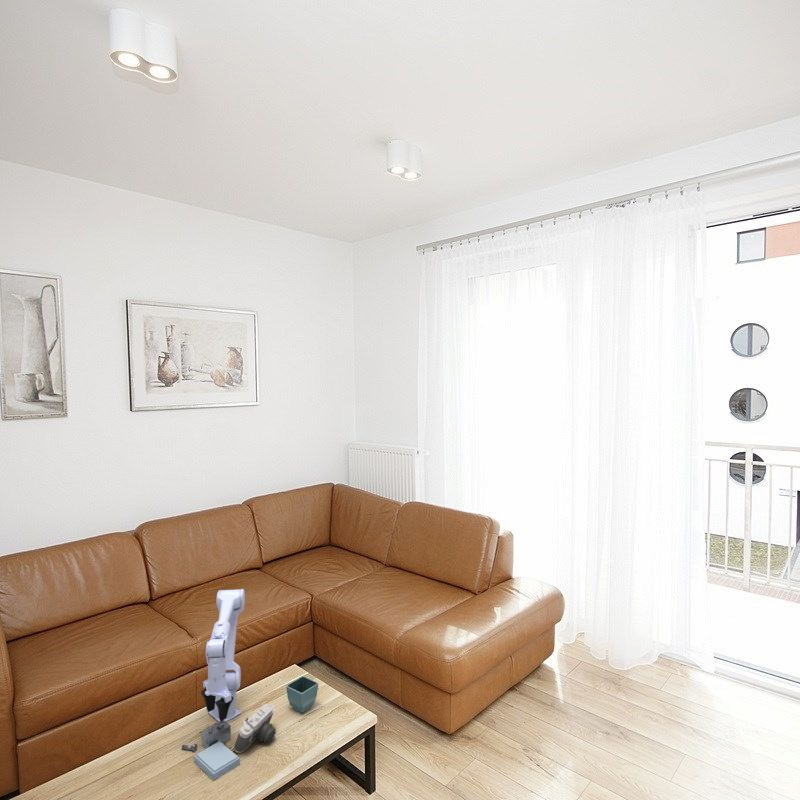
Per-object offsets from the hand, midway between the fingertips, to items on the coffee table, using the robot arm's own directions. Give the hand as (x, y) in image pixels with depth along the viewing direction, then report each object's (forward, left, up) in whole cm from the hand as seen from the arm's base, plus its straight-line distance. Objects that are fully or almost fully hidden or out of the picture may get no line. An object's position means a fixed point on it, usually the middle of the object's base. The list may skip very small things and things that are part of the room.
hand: (216, 714), depth 173 cm
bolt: (-4, -8, -10) cm, 13 cm away
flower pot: (+7, +31, -10) cm, 33 cm away
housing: (0, 0, -10) cm, 10 cm away
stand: (+9, -5, -10) cm, 14 cm away
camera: (+10, +10, -10) cm, 17 cm away
